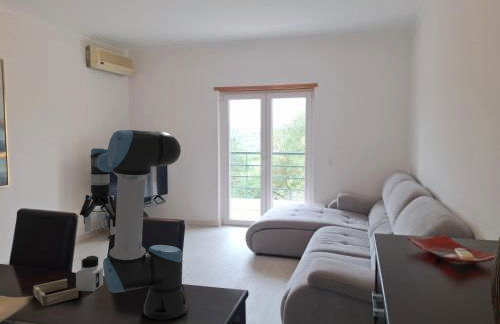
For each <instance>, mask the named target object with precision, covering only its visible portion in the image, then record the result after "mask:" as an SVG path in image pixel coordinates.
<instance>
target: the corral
mask: <svg viewBox="0 0 500 324" xmlns="http://www.w3.org/2000/svg"><path fill="white" fill-rule="evenodd" d="M64 289H67V290H64ZM60 290H63V291H60ZM32 291H33V292H32V294H33V295H32V296H33V297H35V298H36V300H37V301H38V302H39V303H40V304H41V306H42V307H46V306H50V305H55V304H58V303H62V302H66V301H70V300H75V299H78V298H79V291H78V288H76V287H74V288H70V289H68V279H67V278H63V279H60V280H55V281H49V282H46V283H41V284H40V283H39V284H35V285H33V286H32ZM56 291H57V292H56ZM51 292H54V293H51ZM47 293H50V294H47Z"/></svg>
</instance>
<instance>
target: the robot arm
mask: <svg viewBox="0 0 500 324" xmlns="http://www.w3.org/2000/svg"><path fill="white" fill-rule="evenodd" d="M181 153H182V150H181V145H180V142H179V141H178V140H177V138H176V137H175V136H173V135H172V134H170V133H168V132H165V131H158V130H157V131H154V130H151V131H150V130H135V129H134V130H133V129H125V130H124V129H123V130H122V129H121V130H116V131H115V132H113V133H112V134H111V137H110V139H109V142H108V147H107V148H103V147H102V148H100V147H99V148H96V147H95V148H91V150H90V156H89V157H90V184H91V185H90V194H85V198H84V202H83V204H82V207H81V209H80V211H79V215H80V216H82V217H83V224H84V233H90V232H91V231H92V226H91V225H92V224H91V223H92V217H91V216H90V215H91V214H92V213H93V211H94V210H95V208H96V207H97V206H99V207H103V208H104V209H105V210H106V211H107V213H108V215H109V217H110V226H109V227H110V231H109V232H110V235H111V236H113V235H114V246H113V247H112V248H111V249H110V250H109V252H108V253H109V255H108V256H109V257H104V258H103V262H102V267H103V277H104V280H105V283H106V286H107V289H108V290H109V292H111V293H113V294H116V293H122V292H123V293H125V292H128V291H132V290H133V291H134V290H138V289H142V288H148V293H147V295H146V299H145V302H144V305H143V315H144V316H145V317H147V319H152V320H155V321H166V320H173V319H176V318H179V317H181V316H183V315H184V314H185V313H186V312H187V309H188V307H187V305H188V303H187V300H186V297H185V294H184V293H185V292H184V290H183V252H182V250H181V249H180V248H179V247H176V246H173V245H166V244H156V245H155V244H154V245H151V246H150V247H149V248H148V251H146V248H145V247H144V246H142V245H143V244H142V243H143V229H144V228H143V226H144V225H143V224H144V209H145V192H146V191H145V189H146V178H147V177H148V176H149V175H150V174H151V173H152V171H151V170H152V167H153V168H155V167H166V166H171V165H173V164H175V163H176V162H177V161H178V160H179V158H180V156H181ZM111 172H112V173H113V174H114V175H115V176H116V177H117V182H116V184H117V185H116V195H109V193H110V191H111V189H110V187H111V186H110V176H111V175H110V173H111Z"/></svg>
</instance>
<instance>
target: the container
mask: <svg viewBox="0 0 500 324" xmlns="http://www.w3.org/2000/svg"><path fill="white" fill-rule="evenodd" d="M80 265H81V267H80V270H77V271H76V272H75V286H76V287H75V288H78V292H95V291H97V290H98V289H99V288H101V287H102V286H103V285H104V270H103V266H102V267H101V266H99V257H98V256H96V255H87V256H83V257H82V258H81V259H80Z"/></svg>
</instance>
